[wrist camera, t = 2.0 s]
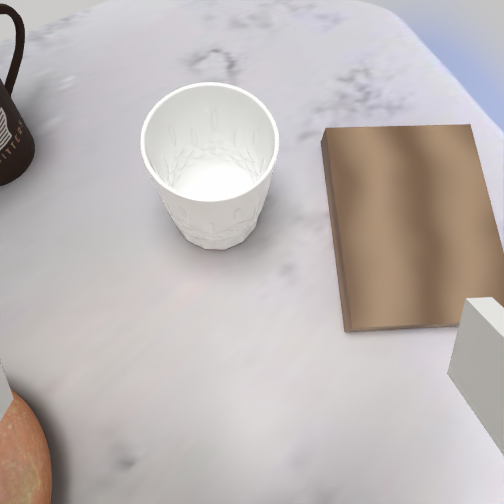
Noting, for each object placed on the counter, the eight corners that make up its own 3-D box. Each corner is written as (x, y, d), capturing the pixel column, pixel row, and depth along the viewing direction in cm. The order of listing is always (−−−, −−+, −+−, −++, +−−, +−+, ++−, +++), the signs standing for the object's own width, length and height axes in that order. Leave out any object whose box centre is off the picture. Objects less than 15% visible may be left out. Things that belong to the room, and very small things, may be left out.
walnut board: (344, 331, 31) (352, 327, 29) (320, 142, 36) (325, 127, 34) (503, 323, 32) (520, 319, 30) (458, 138, 37) (470, 124, 35)
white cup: (266, 168, 35) (278, 84, 25) (266, 259, 32) (280, 203, 23) (170, 165, 35) (146, 79, 25) (162, 257, 32) (133, 199, 23)
